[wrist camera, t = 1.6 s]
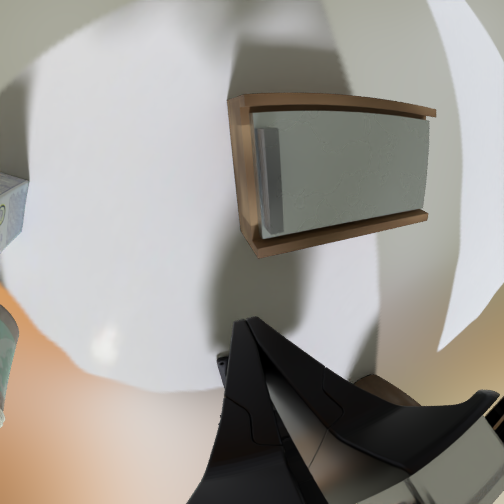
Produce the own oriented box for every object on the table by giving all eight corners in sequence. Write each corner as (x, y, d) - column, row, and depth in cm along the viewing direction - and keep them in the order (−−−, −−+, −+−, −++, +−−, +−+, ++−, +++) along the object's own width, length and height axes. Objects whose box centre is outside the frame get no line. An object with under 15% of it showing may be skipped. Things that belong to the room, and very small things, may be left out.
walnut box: (394, 203, 25) (427, 220, 21) (240, 230, 22) (258, 258, 18) (398, 105, 20) (436, 109, 16) (227, 100, 17) (244, 94, 13)
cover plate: (416, 205, 21) (433, 213, 19) (259, 234, 18) (270, 248, 16) (422, 119, 17) (441, 123, 16) (248, 113, 14) (260, 112, 12)
